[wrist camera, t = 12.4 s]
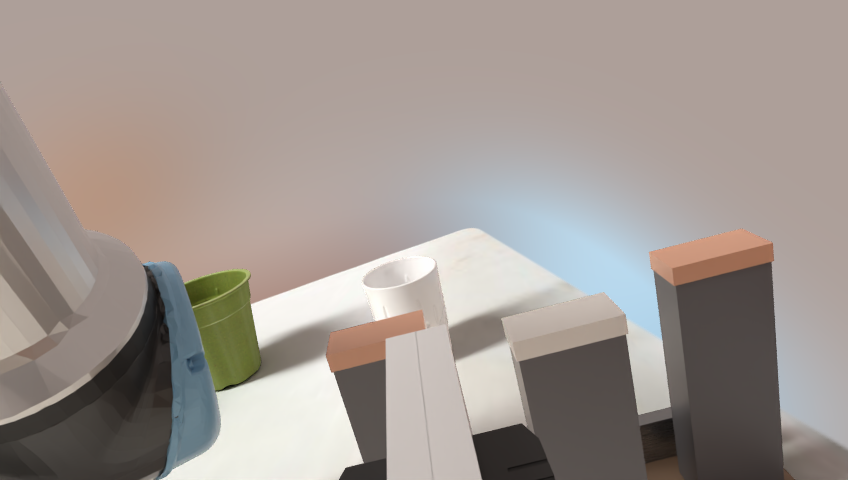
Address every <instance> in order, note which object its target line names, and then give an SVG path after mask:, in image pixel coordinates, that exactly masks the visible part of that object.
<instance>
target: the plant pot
mask: <svg viewBox="0 0 848 480" xmlns="http://www.w3.org/2000/svg"><path fill="white" fill-rule="evenodd" d="M250 276H251V274H250V271H248V270H245V269H232V270H227V271H221V272H217V273H213V274H209V275H206V276H202V277H199V278H197V279H194V280H191V281H188V282H186V283H184V285H185V288H186V291H187V294H188V297H189V300H190V303H191V306H192V309H193V312H194V316H195V319H196V322H197V326H198V329H199V332H200V336H201V341H202V345H203V349H204V352H205V355H204V357H205V359H206V360H207V363H208V366H209V369H210V373H211V376H212V380H213V384H214V388H215V390H221V389H224V388H225V387H226V386H228V385H232V384H238V383H241V382H243V381H245V380H246V379H247V378H248V377H250V376H251V375H253V374H254V373H255V372H256V371H257V370H258V369H259V367H260V363H261V357H260V352H259V347H258V341H257V336H256V331H255V325H254V320H253V315H252V310H251V304H250V289H249V283H248V280H249V279H250Z"/></svg>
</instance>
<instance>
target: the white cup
mask: <svg viewBox="0 0 848 480" xmlns="http://www.w3.org/2000/svg"><path fill="white" fill-rule="evenodd" d="M361 283H362V286H363V289H364V292H365V295H366V297H367V300H368V303H369V306H370V309H371V312H372V315H373V318H374V320H375V321H378V320H382V319H386V318H390V317H394V316H398V315H402V314H406V313H410V312H414V311H418V310H423V314H424V318H425V322H426V325H427V329H428V328H432V327H436V326H440V325H444V324H446V328H447V332H448V336H449V340H450V344H451V348H452V343H451V339H450V334H449V330H448V319H447V314H446V307H445V302H444V297H443V293H442V288H441V283H440V278H439V273H438V268H437V263H436V261H435V260H434V259H432V258H430V257H424V256H414V257H406V258H401V259H397V260H393V261H390V262H387V263H385V264H382V265H380V266H378V267H376V268H374V269H372V270H371V271H369V272H368V273H367V274H366V275H365V276H364V277H363V279H362V282H361Z"/></svg>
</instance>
